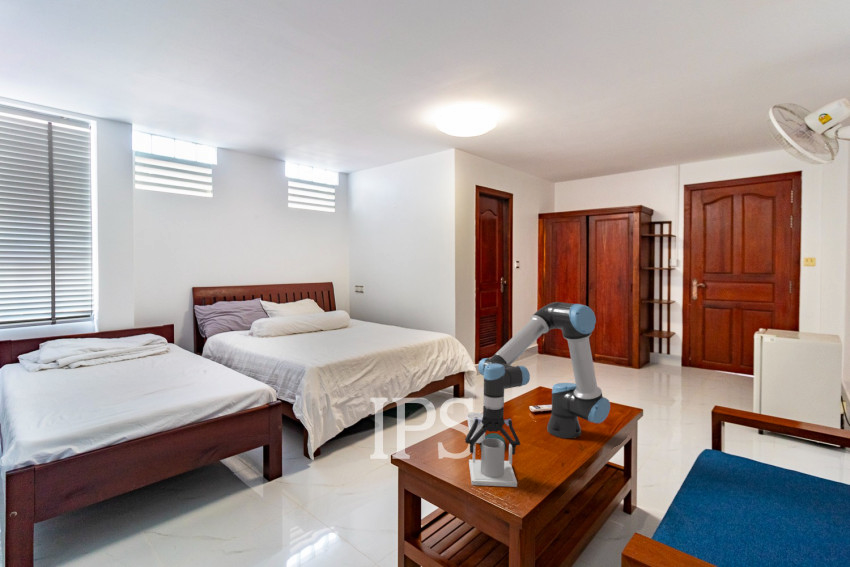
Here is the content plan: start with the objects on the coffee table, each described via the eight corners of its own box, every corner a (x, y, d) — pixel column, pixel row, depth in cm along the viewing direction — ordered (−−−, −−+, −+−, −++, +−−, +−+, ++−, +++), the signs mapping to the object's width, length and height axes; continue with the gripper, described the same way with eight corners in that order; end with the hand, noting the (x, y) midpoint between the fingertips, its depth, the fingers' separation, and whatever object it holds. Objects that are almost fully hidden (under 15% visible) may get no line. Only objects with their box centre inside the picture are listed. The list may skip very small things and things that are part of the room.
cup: (487, 446, 176) (488, 421, 175) (464, 444, 178) (465, 419, 177) (488, 437, 185) (489, 413, 185) (467, 435, 187) (467, 411, 187)
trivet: (509, 464, 160) (509, 460, 160) (517, 486, 144) (517, 482, 144) (468, 463, 161) (469, 459, 161) (471, 484, 145) (471, 480, 145)
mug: (498, 480, 145) (499, 450, 145) (476, 473, 150) (477, 444, 149) (511, 466, 155) (511, 438, 155) (490, 460, 160) (491, 433, 159)
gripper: (525, 403, 155) (523, 458, 156) (459, 401, 156) (458, 455, 157) (529, 410, 147) (527, 468, 148) (460, 408, 148) (459, 465, 149)
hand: (491, 462), depth 152 cm, fingers open, 13 cm apart
